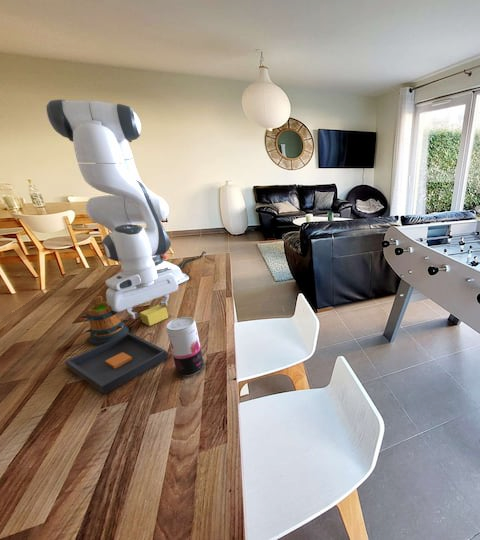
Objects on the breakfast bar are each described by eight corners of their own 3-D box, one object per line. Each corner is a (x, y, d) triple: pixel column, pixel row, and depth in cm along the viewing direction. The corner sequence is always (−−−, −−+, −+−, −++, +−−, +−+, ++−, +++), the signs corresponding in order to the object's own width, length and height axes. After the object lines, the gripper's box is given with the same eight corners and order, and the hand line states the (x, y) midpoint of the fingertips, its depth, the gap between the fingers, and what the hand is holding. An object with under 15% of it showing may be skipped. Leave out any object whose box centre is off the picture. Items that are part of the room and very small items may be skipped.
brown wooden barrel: (132, 336, 92) (123, 305, 88) (90, 349, 85) (77, 316, 81) (126, 319, 100) (117, 290, 96) (87, 330, 94) (75, 299, 89)
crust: (123, 354, 83) (122, 351, 83) (132, 359, 82) (131, 356, 81) (105, 363, 80) (104, 360, 79) (114, 369, 78) (113, 366, 77)
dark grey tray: (131, 338, 91) (129, 332, 90) (168, 357, 84) (166, 350, 83) (67, 368, 78) (64, 361, 77) (104, 394, 71) (101, 386, 70)
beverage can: (207, 369, 80) (198, 323, 74) (181, 381, 76) (169, 333, 70) (199, 357, 84) (190, 313, 79) (174, 368, 80) (162, 322, 74)
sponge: (161, 314, 105) (158, 304, 103) (168, 317, 103) (166, 307, 102) (142, 322, 100) (139, 312, 98) (149, 326, 98) (147, 316, 96)
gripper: (167, 264, 104) (175, 298, 109) (98, 283, 87) (111, 322, 92) (178, 267, 101) (185, 302, 106) (109, 287, 84) (121, 328, 89)
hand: (150, 311), depth 99 cm, fingers open, 8 cm apart
